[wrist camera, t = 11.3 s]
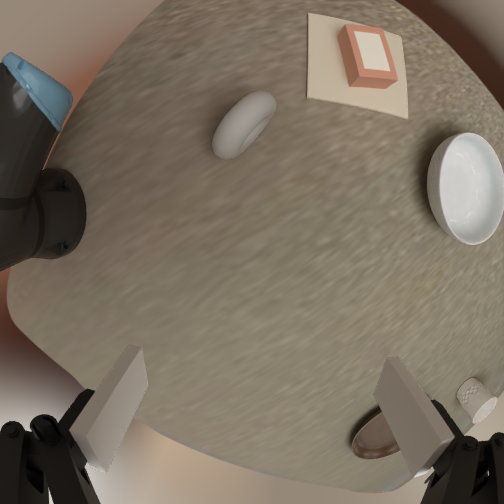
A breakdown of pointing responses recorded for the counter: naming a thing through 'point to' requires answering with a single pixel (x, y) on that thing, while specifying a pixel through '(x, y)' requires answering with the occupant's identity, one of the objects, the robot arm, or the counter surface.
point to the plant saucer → (374, 438)
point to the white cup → (476, 399)
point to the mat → (334, 74)
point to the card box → (366, 57)
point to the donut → (243, 124)
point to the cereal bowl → (466, 188)
